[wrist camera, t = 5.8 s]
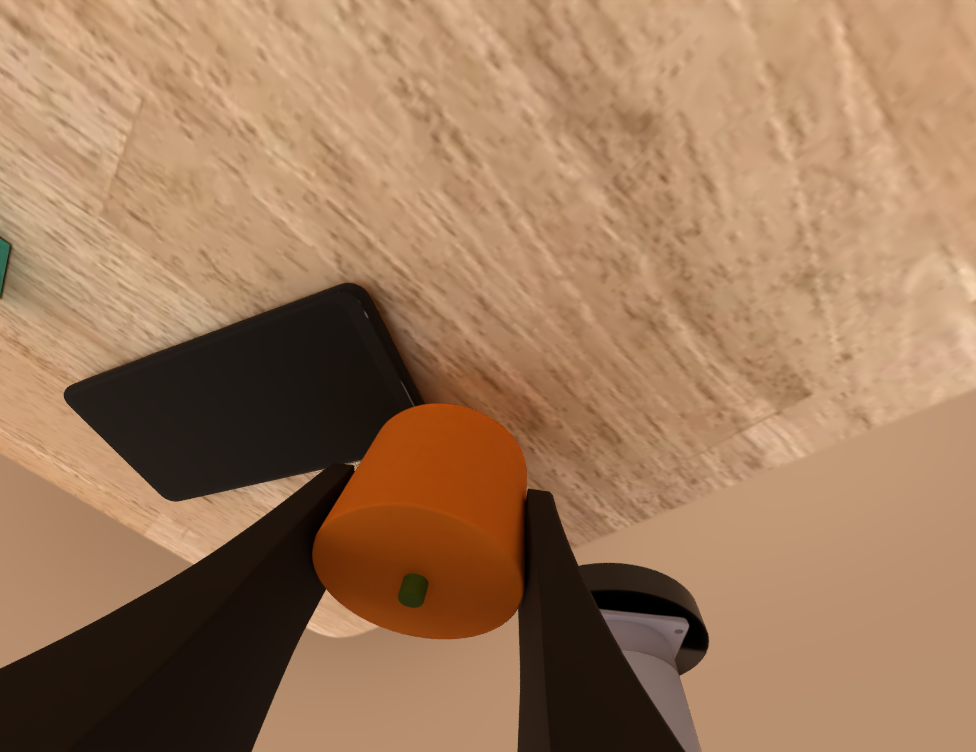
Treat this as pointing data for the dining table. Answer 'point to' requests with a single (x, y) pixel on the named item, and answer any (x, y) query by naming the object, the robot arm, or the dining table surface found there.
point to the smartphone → (254, 397)
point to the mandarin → (430, 526)
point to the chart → (3, 259)
